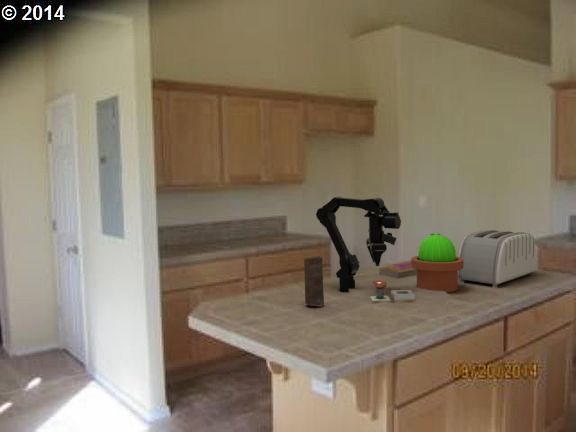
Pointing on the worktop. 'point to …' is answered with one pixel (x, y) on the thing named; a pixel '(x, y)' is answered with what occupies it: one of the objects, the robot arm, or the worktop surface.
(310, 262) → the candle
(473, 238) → the toaster
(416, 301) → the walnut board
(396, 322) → the worktop surface
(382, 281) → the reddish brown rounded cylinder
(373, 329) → the worktop surface
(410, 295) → the block
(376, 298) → the rubber pad
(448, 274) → the potted cactus
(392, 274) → the flat patterned box
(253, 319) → the worktop surface
